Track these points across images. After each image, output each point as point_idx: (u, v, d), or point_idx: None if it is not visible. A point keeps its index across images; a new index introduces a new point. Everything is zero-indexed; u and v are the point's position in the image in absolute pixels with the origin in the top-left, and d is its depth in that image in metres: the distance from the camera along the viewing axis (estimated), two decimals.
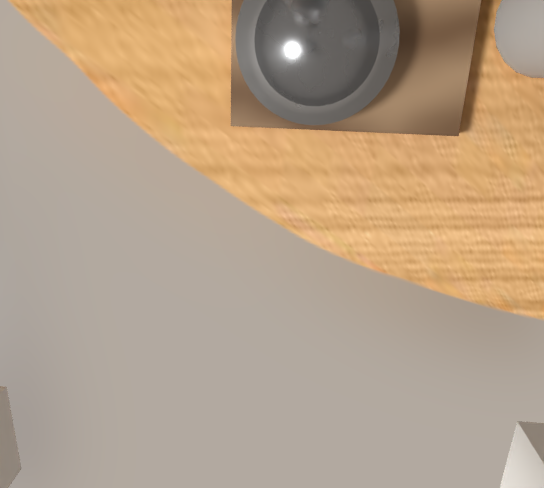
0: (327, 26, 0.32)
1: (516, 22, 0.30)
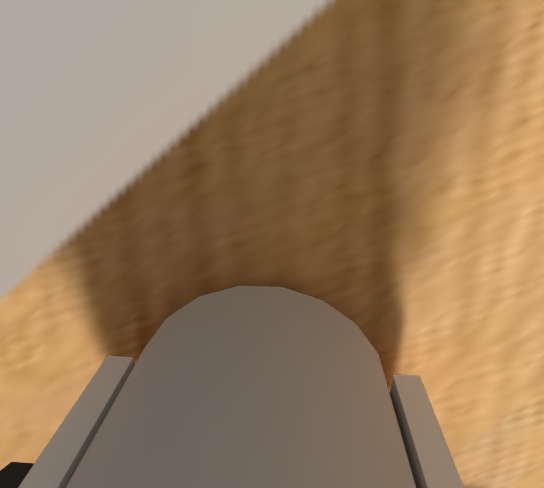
0: None
1: None
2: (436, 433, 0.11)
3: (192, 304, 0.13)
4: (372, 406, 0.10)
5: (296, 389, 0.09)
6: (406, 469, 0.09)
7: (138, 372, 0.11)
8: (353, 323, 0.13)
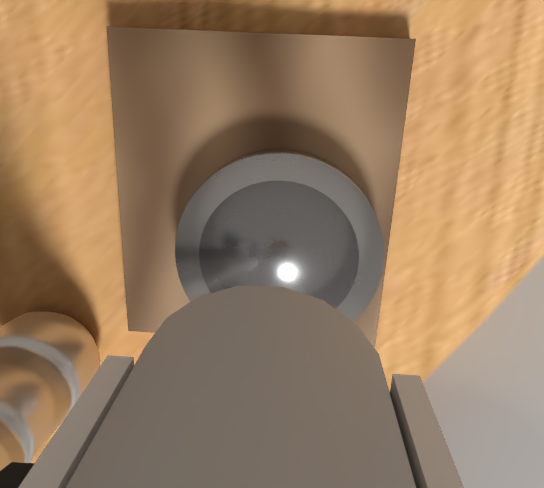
0: (260, 247, 0.25)
1: None
2: (436, 433, 0.11)
3: (192, 304, 0.13)
4: (372, 407, 0.10)
5: (297, 389, 0.09)
6: (406, 469, 0.09)
7: (138, 372, 0.11)
8: (353, 323, 0.13)
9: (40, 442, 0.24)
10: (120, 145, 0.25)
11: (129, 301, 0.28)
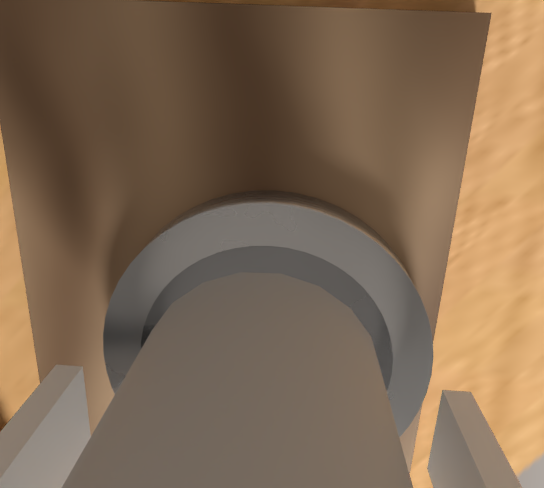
0: None
1: None
2: (498, 455, 0.11)
3: (197, 289, 0.14)
4: (363, 380, 0.11)
5: (294, 361, 0.10)
6: (394, 436, 0.10)
7: (147, 350, 0.12)
8: (348, 308, 0.14)
9: None
10: (18, 184, 0.16)
11: None
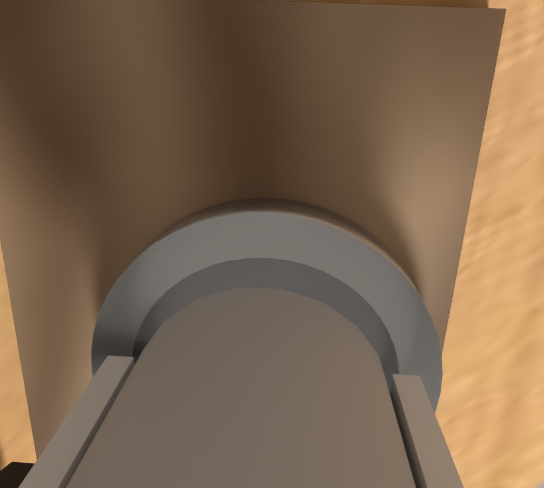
0: None
1: None
2: (436, 433, 0.11)
3: (191, 306, 0.13)
4: (373, 410, 0.10)
5: (296, 393, 0.09)
6: (407, 474, 0.09)
7: (136, 375, 0.11)
8: (353, 325, 0.13)
9: None
10: (1, 191, 0.15)
11: (36, 425, 0.18)
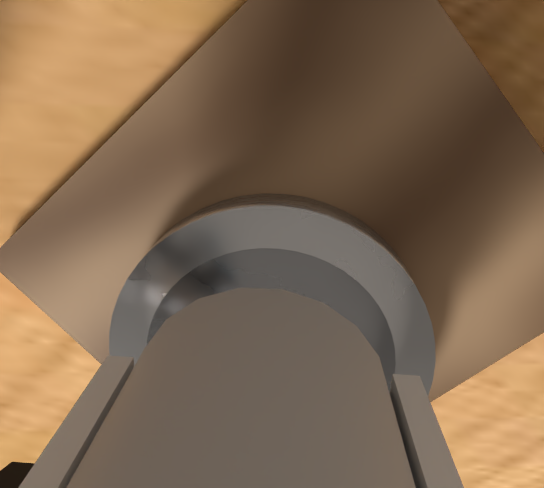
0: None
1: None
2: (436, 433, 0.11)
3: (192, 306, 0.13)
4: (373, 411, 0.10)
5: (297, 394, 0.09)
6: (407, 474, 0.09)
7: (137, 375, 0.11)
8: (354, 326, 0.13)
9: None
10: (214, 48, 0.15)
11: (25, 230, 0.17)
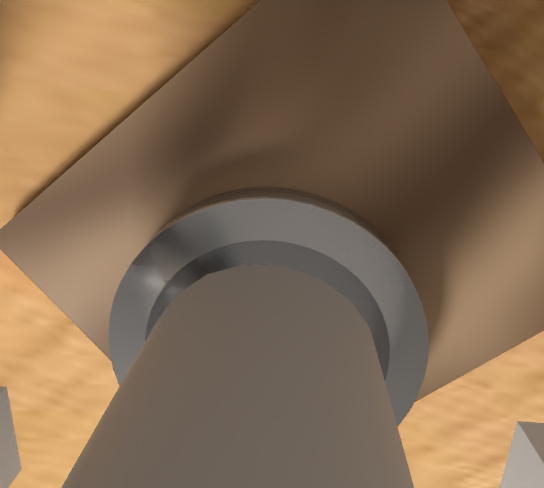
0: None
1: None
2: None
3: (201, 281, 0.14)
4: (361, 366, 0.11)
5: (295, 347, 0.10)
6: (391, 418, 0.11)
7: (154, 337, 0.12)
8: (347, 299, 0.14)
9: None
10: (229, 40, 0.15)
11: (29, 210, 0.17)
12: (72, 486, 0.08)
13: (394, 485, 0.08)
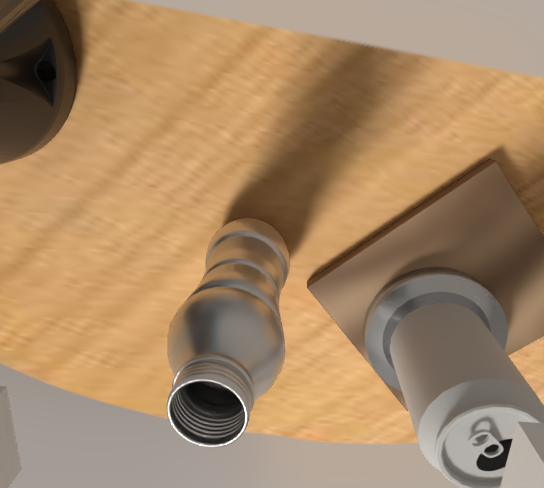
0: None
1: None
2: None
3: (420, 309, 0.36)
4: None
5: (478, 334, 0.32)
6: None
7: (416, 331, 0.34)
8: (478, 316, 0.36)
9: None
10: (429, 210, 0.36)
11: (328, 276, 0.38)
12: (433, 370, 0.29)
13: None
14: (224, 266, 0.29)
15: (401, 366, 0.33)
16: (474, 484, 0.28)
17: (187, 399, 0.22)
